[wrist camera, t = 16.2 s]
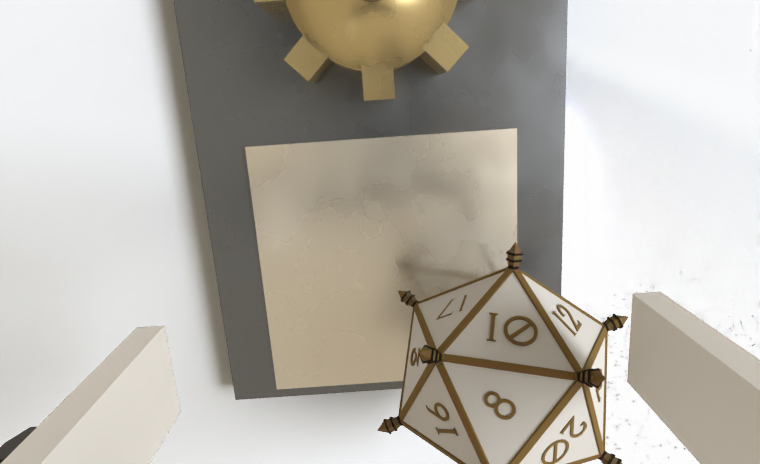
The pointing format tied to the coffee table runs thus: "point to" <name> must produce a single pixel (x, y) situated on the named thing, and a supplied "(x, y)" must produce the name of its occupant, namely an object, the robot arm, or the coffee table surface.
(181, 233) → the coffee table surface
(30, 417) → the coffee table surface
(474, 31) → the carrier plate
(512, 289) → the game die
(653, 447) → the coffee table surface
